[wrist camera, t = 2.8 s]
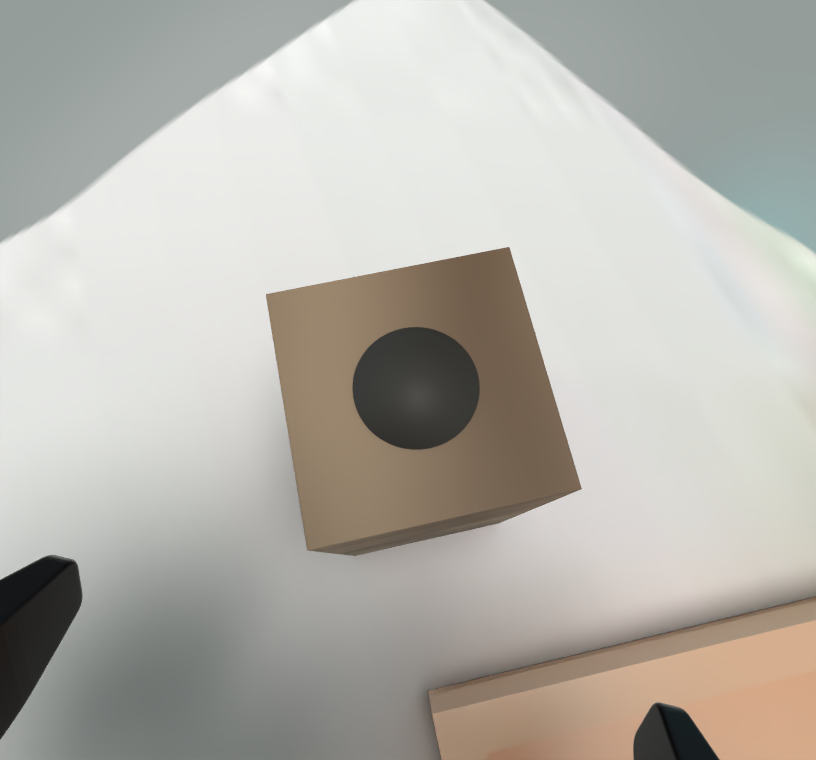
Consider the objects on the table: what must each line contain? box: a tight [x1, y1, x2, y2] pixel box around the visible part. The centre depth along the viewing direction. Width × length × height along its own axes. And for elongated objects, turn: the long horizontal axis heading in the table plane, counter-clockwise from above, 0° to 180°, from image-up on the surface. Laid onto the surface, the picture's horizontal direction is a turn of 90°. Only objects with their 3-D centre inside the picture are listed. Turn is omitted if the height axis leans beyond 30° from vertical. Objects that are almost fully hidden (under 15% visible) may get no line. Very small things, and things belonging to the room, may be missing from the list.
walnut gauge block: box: [266, 247, 582, 556], centre depth 16 cm, size 5×5×10 cm
